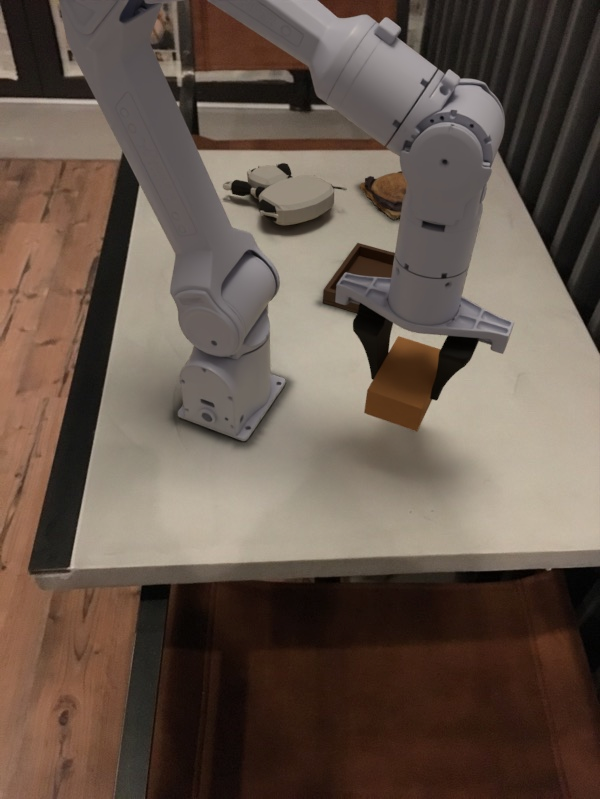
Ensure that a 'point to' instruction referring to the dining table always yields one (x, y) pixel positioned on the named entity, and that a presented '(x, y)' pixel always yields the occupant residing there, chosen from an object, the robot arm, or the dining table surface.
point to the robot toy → (285, 194)
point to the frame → (360, 270)
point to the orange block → (403, 384)
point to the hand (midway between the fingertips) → (407, 383)
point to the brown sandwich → (386, 192)
